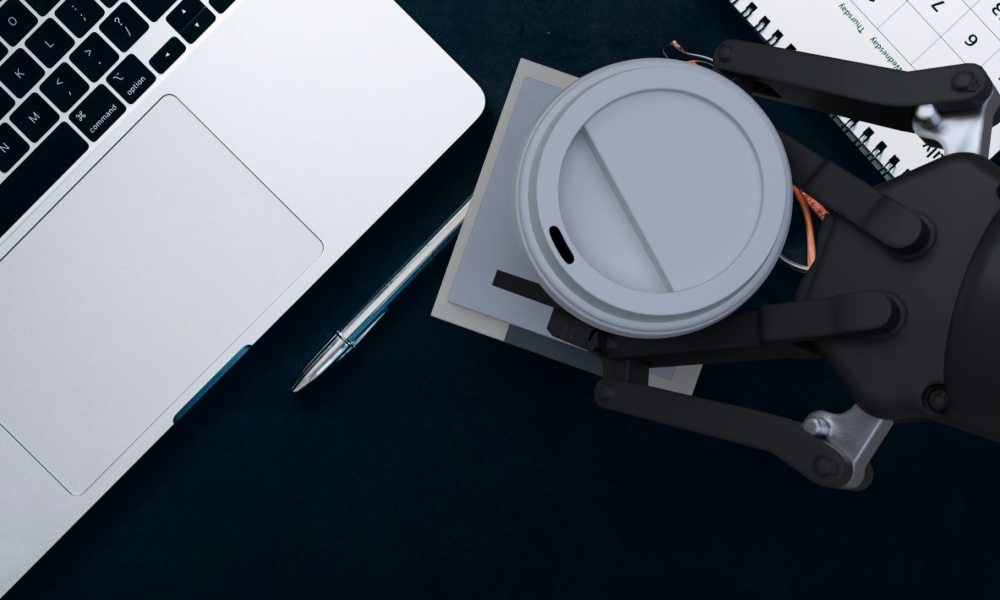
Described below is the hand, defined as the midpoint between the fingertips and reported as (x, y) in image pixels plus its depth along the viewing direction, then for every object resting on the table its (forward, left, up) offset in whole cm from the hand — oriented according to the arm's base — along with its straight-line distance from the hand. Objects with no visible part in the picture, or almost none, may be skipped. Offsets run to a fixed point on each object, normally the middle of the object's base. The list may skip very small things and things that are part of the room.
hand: (544, 201), depth 37 cm
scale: (0, -3, -7) cm, 8 cm away
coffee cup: (0, -4, -4) cm, 5 cm away
